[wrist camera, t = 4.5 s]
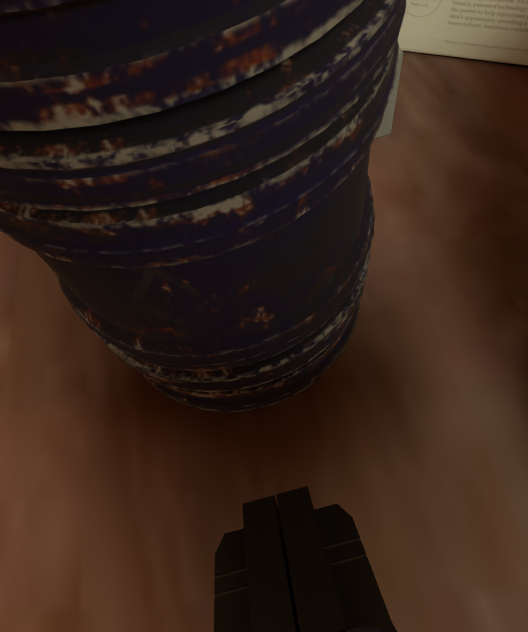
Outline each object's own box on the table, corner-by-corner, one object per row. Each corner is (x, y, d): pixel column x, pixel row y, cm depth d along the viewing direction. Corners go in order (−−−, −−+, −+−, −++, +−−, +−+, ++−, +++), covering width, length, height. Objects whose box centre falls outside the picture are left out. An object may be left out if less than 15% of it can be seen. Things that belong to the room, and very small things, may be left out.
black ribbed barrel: (318, 169, 22) (309, -434, 9) (404, 369, 17) (657, -250, 4) (101, 231, 22) (-249, -291, 8) (131, 450, 17) (-521, 66, 4)
